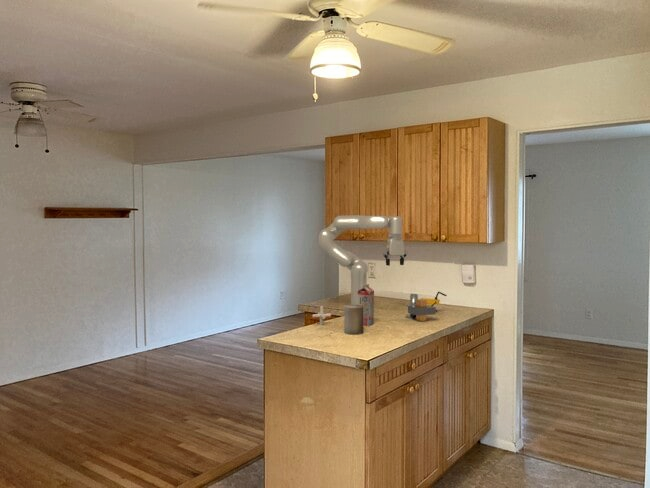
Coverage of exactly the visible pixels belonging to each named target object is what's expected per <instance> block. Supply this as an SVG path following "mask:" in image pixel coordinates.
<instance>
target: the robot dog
mask: <svg viewBox="0 0 650 488" xmlns="http://www.w3.org/2000/svg"><path fill="white" fill-rule="evenodd" d="M439 295H442V296H444V297H447V294H446V293H443V292H441V291H437V292H436V295H435V297H434V298H426V297H421V298H419V299H425V300H427V304H429V306H432V307H434V306H435V305H440V302H441V300H440V299H439V298H438V296H439ZM436 313H438V310H437V309H436Z"/></svg>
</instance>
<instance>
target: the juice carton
mask: <svg viewBox="0 0 650 488" xmlns="http://www.w3.org/2000/svg"><path fill="white" fill-rule="evenodd" d="M358 305H363V327H370V326H373V325H374V323H375V321H374V320H375V319H374V317H375V290H374V289H373V288H371V287H370V284H369V283H367V285H363V289H361V290H359V291H358Z"/></svg>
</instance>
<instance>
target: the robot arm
mask: <svg viewBox="0 0 650 488" xmlns="http://www.w3.org/2000/svg"><path fill="white" fill-rule="evenodd" d="M402 222H403V218H402V217H401V216H398V215H397V216H396V215H395V216H392V215H391V216H386V215H363V214H361V215H360V214H359V215H355V214H353V215H337V216H336V217H334V218H333V222H332V223H331V224H330V225H329V226H328V227H326V228H324V229H321V231H320V232H319V233H318V245H319V247H320V249H321V250H322V251H323V252H324V253H325V255H327V256H329V257H330V258H331V259H332V260H333V261H334V262H336V263H337V264H338V265H340V266H342V268H345V267H346V268H347V269H348V270H349V271H350V305H352V304H354V305H358V291H359V290H361V289H363V285H367V284H368V283H367V273H368V271H369V267H368V264H367V263H366V262H365V261H363V260H362V259H361V258H359V257H358V256H357V255H356V254H354V253H353V252H352V251H348V250H346V249H344V248H342V247H341V246H339V245H338V244H337V243H335V242H334V240H335V239H337V237H338V236H340V235H341V234H342V233H343V232H344V231H346V230H366V229H388V228H389V229H388V235H387V238H388V239H387V242H386V249H384V250H382V251H381V253H382V255H383V257H384V258H385V265H386V266H390V265H391V259H390V258H391V256H392V257H396V256H397V257H399V265H400V266H404V264H405V258H406V257H407V256H408V255H407V254H408V253H409V251H408V250H406V249H405V242H404V239H403V237H402V236H403V231H402V229H403V227H402V226H403V223H402ZM342 311H344V312H345V308H344V307H343V310H342Z"/></svg>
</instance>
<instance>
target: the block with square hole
mask: <svg viewBox="0 0 650 488" xmlns="http://www.w3.org/2000/svg"><path fill="white" fill-rule="evenodd" d="M409 297H410V299H409V301H410V302H407V303H405V304H404V306H405V307H407V313H408V314H409V315H405V318H407V319H410V320H416V316H421V315H426V316H431V315H437V314H436V313H437V312H436V310H437V309H436V307H435V306H433V307H432V306H429V305H430V304H429V305H428V304H427V307H417V299H419V294H418V293H410V295H409Z"/></svg>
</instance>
